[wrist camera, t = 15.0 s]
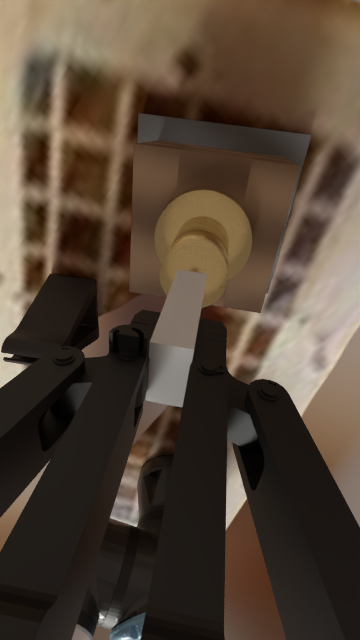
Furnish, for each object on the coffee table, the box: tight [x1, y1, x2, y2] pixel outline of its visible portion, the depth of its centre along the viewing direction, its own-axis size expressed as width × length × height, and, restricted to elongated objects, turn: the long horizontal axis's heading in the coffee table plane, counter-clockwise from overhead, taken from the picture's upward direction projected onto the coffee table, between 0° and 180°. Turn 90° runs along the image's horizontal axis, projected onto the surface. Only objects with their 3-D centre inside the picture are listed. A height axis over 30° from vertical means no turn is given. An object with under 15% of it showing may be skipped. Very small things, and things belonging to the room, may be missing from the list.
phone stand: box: [1, 274, 99, 365], centre depth 39 cm, size 9×6×12 cm, turn 175°
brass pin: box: [155, 188, 252, 308], centre depth 26 cm, size 8×8×16 cm
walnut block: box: [129, 113, 311, 313], centre depth 31 cm, size 16×16×10 cm
